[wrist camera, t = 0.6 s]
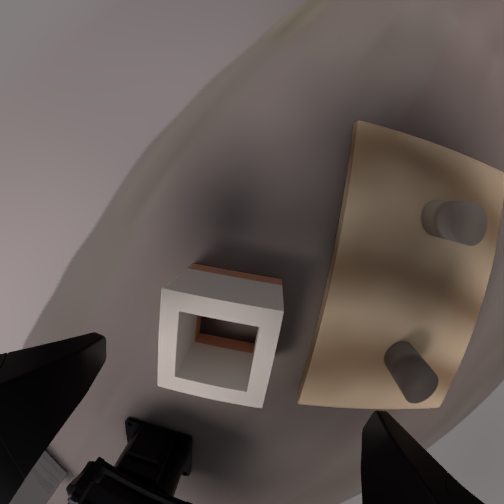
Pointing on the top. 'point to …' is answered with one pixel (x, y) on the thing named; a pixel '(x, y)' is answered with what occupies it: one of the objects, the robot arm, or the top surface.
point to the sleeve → (213, 347)
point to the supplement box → (40, 482)
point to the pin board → (403, 273)
